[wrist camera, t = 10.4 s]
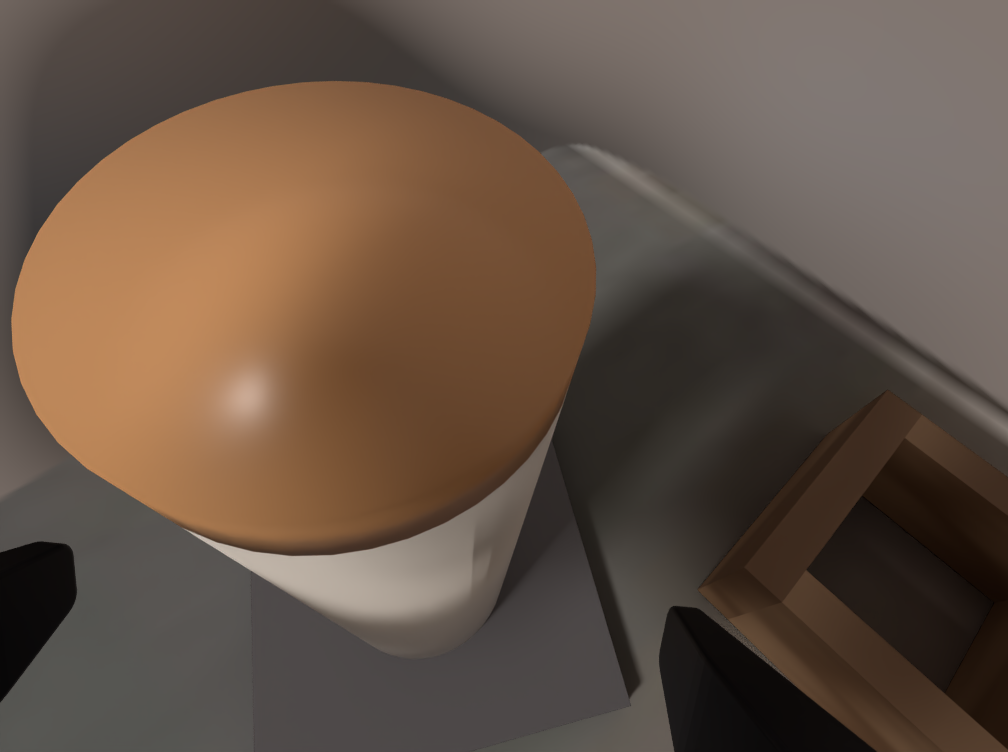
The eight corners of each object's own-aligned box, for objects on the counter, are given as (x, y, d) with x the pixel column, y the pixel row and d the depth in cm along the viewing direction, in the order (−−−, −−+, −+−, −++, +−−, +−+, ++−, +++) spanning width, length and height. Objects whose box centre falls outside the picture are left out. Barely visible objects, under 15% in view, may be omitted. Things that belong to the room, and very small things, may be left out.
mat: (623, 705, 16) (631, 705, 16) (264, 807, 15) (255, 812, 14) (536, 404, 21) (538, 393, 21) (256, 455, 20) (248, 446, 19)
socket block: (1044, 605, 19) (1156, 585, 16) (935, 821, 16) (1050, 850, 13) (827, 433, 21) (887, 389, 18) (697, 589, 18) (744, 567, 15)
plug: (520, 634, 16) (679, 448, 4) (345, 678, 16) (-55, 599, 4) (483, 474, 19) (521, 64, 7) (329, 505, 18) (58, 102, 6)
